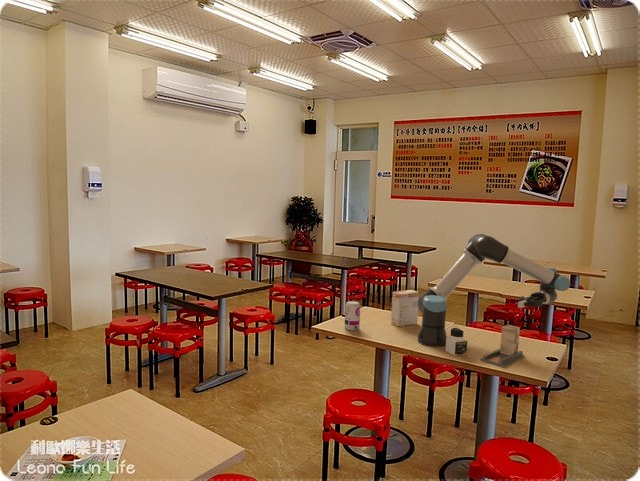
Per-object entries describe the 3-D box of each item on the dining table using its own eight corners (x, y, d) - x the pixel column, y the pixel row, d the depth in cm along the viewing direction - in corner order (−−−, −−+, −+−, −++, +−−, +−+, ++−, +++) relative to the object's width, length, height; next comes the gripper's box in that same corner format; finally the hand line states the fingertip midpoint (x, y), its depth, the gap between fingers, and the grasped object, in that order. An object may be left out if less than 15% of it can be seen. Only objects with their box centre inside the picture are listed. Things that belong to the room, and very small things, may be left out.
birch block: (505, 350, 228) (507, 324, 227) (517, 354, 224) (519, 327, 223) (499, 353, 224) (501, 326, 223) (512, 356, 220) (514, 329, 219)
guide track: (502, 350, 232) (502, 346, 232) (524, 357, 224) (525, 351, 224) (480, 360, 217) (480, 355, 217) (503, 367, 209) (503, 361, 209)
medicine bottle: (454, 356, 221) (456, 331, 220) (445, 351, 228) (446, 327, 227) (466, 354, 224) (468, 330, 223) (456, 350, 231) (458, 326, 230)
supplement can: (361, 328, 263) (362, 302, 261) (354, 331, 256) (355, 304, 255) (349, 326, 267) (350, 300, 266) (341, 329, 260) (343, 302, 259)
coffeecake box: (409, 321, 283) (411, 289, 281) (417, 324, 276) (419, 291, 275) (390, 323, 275) (391, 291, 273) (398, 327, 269) (399, 293, 267)
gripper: (551, 308, 239) (532, 315, 223) (526, 303, 248) (506, 309, 232) (552, 293, 238) (533, 299, 222) (527, 289, 248) (507, 295, 232)
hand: (519, 304), depth 227 cm, fingers closed
